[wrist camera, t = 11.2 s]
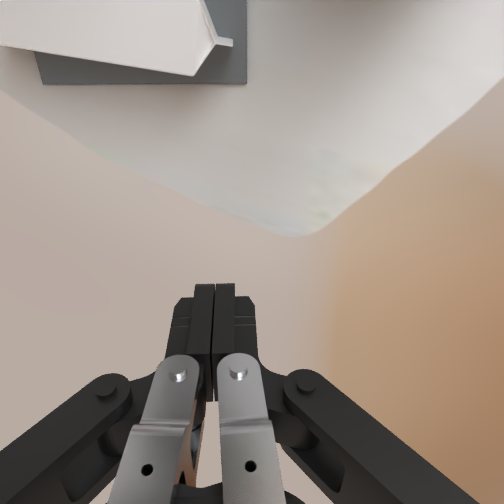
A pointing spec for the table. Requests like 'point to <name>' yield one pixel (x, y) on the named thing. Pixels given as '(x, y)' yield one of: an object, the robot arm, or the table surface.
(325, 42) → the table surface
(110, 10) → the milk
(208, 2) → the mat
